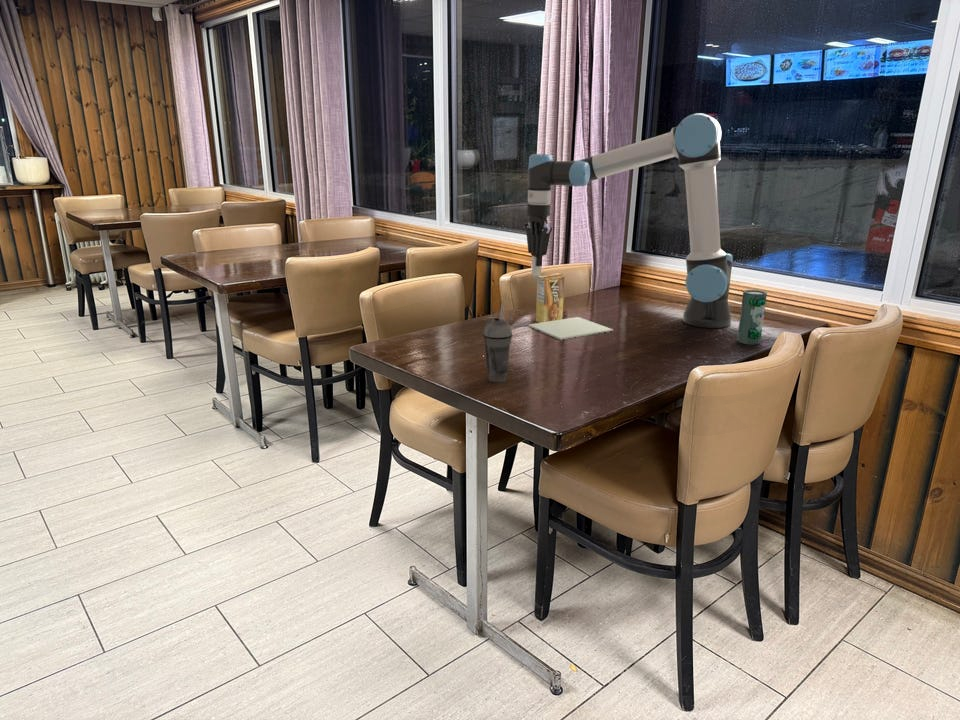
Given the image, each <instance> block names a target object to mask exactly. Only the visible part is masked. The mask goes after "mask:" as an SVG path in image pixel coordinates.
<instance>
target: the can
mask: <svg viewBox="0 0 960 720" xmlns="http://www.w3.org/2000/svg"><path fill="white" fill-rule="evenodd" d="M767 296H768V293H767V292H766V291H763V290H758V289H757V290H756V289H746V290H743V292H742V299H741V306H740V307H741V308H740V313H739V314H740V316H739V322H738V323H739V324H738V330H737V331H738V332H737V340H736V341H737V342H738V343H741V344H745V345H759V344H761V339H762V332H763V324H764V317H765V311H766V310H765V309H766V304H767Z"/></svg>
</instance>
